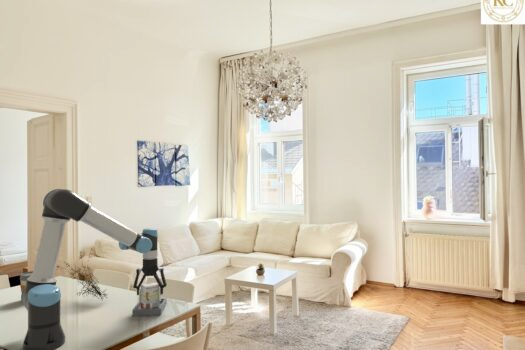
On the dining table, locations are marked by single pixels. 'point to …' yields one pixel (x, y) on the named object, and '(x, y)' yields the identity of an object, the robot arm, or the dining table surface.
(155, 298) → the ink box
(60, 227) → the robot arm
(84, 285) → the dried plant
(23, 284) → the reusable coffee cup
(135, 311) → the pin tray
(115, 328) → the dining table surface
